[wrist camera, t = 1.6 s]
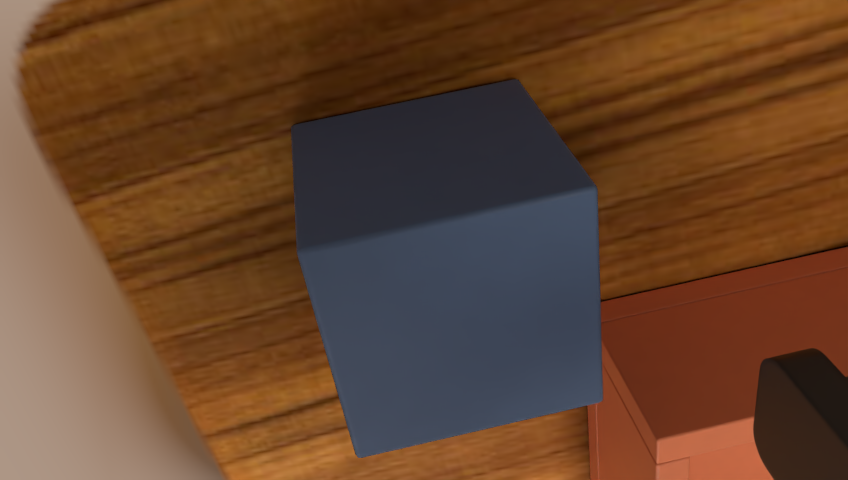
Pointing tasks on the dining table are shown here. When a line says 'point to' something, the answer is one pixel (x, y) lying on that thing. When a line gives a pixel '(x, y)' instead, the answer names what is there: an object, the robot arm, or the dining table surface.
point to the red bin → (707, 366)
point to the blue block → (449, 264)
